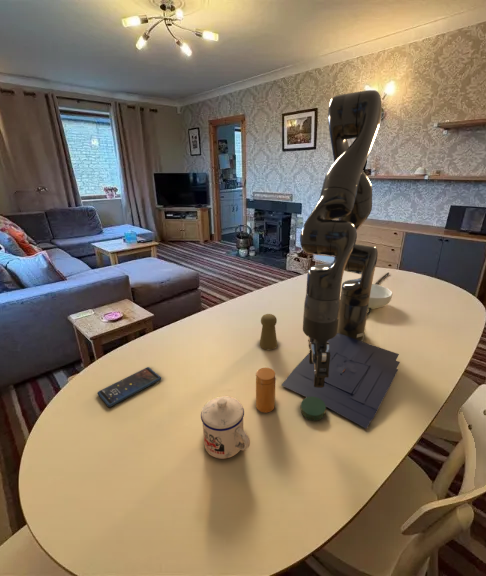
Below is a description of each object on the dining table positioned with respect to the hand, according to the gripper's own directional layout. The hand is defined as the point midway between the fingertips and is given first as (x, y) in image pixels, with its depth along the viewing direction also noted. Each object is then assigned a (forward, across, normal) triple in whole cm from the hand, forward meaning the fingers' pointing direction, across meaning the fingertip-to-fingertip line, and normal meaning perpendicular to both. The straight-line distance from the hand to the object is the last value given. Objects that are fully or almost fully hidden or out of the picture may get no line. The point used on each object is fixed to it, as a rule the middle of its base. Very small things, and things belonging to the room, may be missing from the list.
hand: (315, 374), depth 73 cm
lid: (+9, -1, 0) cm, 9 cm away
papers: (+11, +13, -11) cm, 20 cm away
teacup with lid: (+11, -11, +20) cm, 25 cm away
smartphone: (+11, +7, +49) cm, 51 cm away
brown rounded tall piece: (+11, +29, +11) cm, 33 cm away
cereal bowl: (+12, +61, -32) cm, 70 cm away
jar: (+11, +1, +12) cm, 16 cm away
